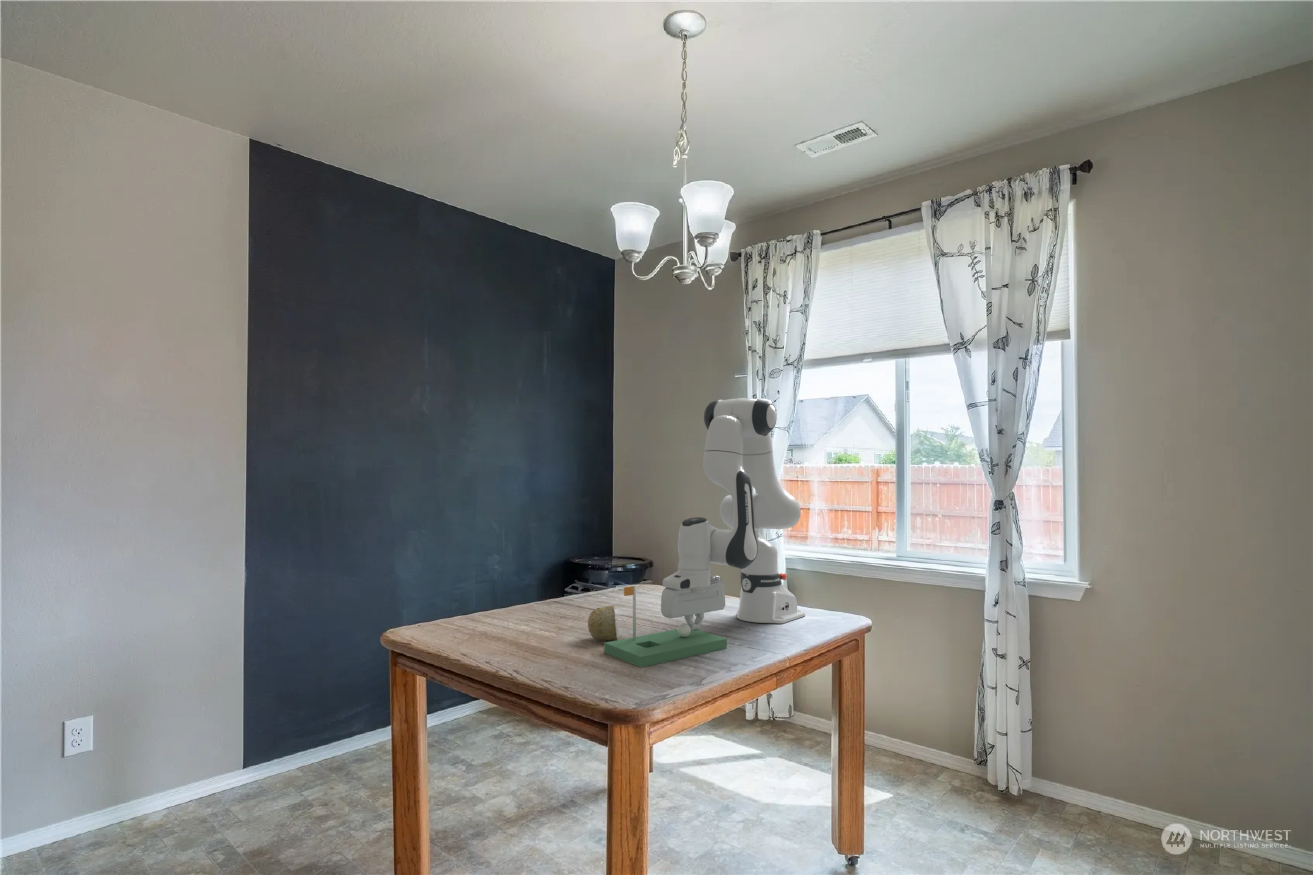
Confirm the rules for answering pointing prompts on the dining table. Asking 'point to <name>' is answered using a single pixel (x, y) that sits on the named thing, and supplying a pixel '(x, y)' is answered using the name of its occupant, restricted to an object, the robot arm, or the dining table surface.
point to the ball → (684, 630)
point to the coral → (603, 624)
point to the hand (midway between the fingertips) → (694, 630)
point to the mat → (661, 643)
